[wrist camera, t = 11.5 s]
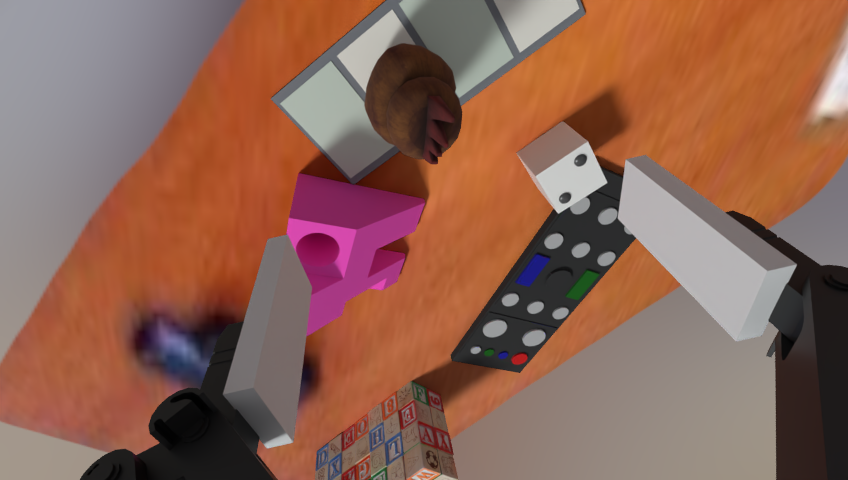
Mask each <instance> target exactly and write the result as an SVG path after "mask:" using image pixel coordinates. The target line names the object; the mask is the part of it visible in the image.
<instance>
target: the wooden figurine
mask: <svg viewBox="0 0 848 480" xmlns="http://www.w3.org/2000/svg"><path fill="white" fill-rule="evenodd" d="M455 91H456V84H455V79H454V75H453V71H452V69H451V68H450V67H449V66H448V64H447V63H446V62H445V61H444V60H443V59H442V58H441V57H440V56H438V55H437V54H435V53H433V52H431V51H430V50H428V49H426V48H424V47H422V46H419V45H412V44H405V43H401V44H398V45H396V46H393V47H390V48H388V49H387V50H386V51H385V52H384V53H383V54H382V55H381V57H380V58H379V59H378V60H377V62H376V64H375V66H374V68H373V70H372V72H371V75H370V78H369V81H368V84H367V87H366V95H365V104H364V106H365V110H366V113H367V115H368V118H369V120H370V122H371V125H372V127H373V129H374V130H375V131H376V132H377V133H378V134H379V135H380V136H381V137H382V138H383V139H384V140H385V141H386V142H388V143H389V144H392V145H395V146H396V147H397V148H398V149H399V150H400V151H401V152H402V153H403V154H404V155H407V156H409V157H412V158H415V159H425V160H426V161H427V162H429V163H430V164H438V158H437V157H442V153H443V152H445V151H446V150H447V149H449V148H450V147H451V145H452V144H453V143H454V142H455V141H456V139H457V138H458V135H459V132H460V129H461V121H462V109H461V105H460V101H459V98H458V97H457V95H456V94H455Z"/></svg>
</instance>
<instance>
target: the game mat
mask: <svg viewBox="0 0 848 480" xmlns="http://www.w3.org/2000/svg"><path fill="white" fill-rule="evenodd" d="M584 15H585V11H584V9H583V6H582V3H581V1H580V0H386V1H385V2H383V3H382V4H381V5H380V6H379V7H378V8H376V9H375V10H374V11H373V12H372V13H371V14H369V15H368V16H367V17H366V18H365V19H363V20H362V21H361V22H360V23H359V24H358V25H356V26H355V27H354V28H353V29H352V30H351V31H349V32H348V33H347V34H346V35H345V36H344V37H342V38H341V39H340V40H339V41H338V42H336V43H335V44H334V45H333V46H332V47H331V48H329V49H328V50H327V51H326V52H325V53H324V54H322V55H321V56H320V57H319V58H318V59H316V60H315V61H314V62H313V63H312V64H311V65H309V66H308V67H307V68H306V69H305V70H304V71H302V72H301V73H300V74H299V75H298V76H297V77H295V78H294V79H293V80H292V81H291V82H289V83H288V84H287V85H286V86H285V87H284V88H282V89H281V90H280V91H279V92H278V93H277V94H275V95H274V96H273V97H272V98H271V100H272V101H273V102H274V103H275V104H276V105H277V106H278V107H279V108H280V109H281V110H282V111H283V112H284V113H285V114H286V115H287V116H288V117H289V118H290V120H291V121H292V122H293V123H294V124H295V125H296V126H297V127H298V128H299V129H300V130H301V131H302V132H303V133H304V134H305V135H306V136H307V137H308V138H309V139H310V140H311V141H312V143H313V144H314V145H315V146H316V147H317V148H318V149H319V150H320V151H321V152H322V153H323V154H324V155H325V156H326V157H327V158H328V159H329V160H330V161H331V162H332V163H333V164H334V166H335V167H336V168H337V169H338V170H339V171H340V172H341V173H342V174H343V175H344V176H345V177H346V178H347V179H348V180H349V181H350V182H351V183H352V184H353V185H354V184H356V183H357V182H358V181H360V180H361V179H362V178H364V177H365V176H366V175H368V174H369V173H371V172H372V171H373V170H375V169H376V168H377V167H379V166H380V165H381V164H383V163H384V162H385V161H387V160H388V159H390V158H391V157H392V156H394V155H395V154H396V153H398V152H399V151H400V150H399V149H398V148H397V147H396V146H395V145H392V144H389V143H388V142H386V141H385V140H384V139H383V138H382V137H381V136H380V135H379V134H378V133H377V132H376V131H375V130H374V129H373V127H372V125H371V122H370V120H369V118H368V115H367V113H366V110H365V106H364V104H365V95H366V87H367V84H368V81H369V78H370V75H371V72H372V70H373V68H374V66H375V64H376V62H377V60H378V59H379V58H380V57H381V55H382V54H383V53H384V52H385V51H386V50H387V49H388V48H390V47H393V46H396V45H398V44H401V43H405V44H412V45H419V46H422V47H424V48H426V49H428V50H430V51H431V52H433V53H435V54H437V55H438V56H440V57H441V58H442V59H443V60H444V61H445V62H446V63H447V64H448V66H449V67H450V68H451V69H452V71H453V75H454V79H455V84H456V91H455V94H456V95H457V97H458V98H459V101H460V105H461V106H462V105H463V104H464V103H466V102H467V101H468V100H470V99H471V98H472V97H474V96H475V95H476V94H478V93H479V92H481V91H482V90H483V89H485V88H486V87H487V86H489V85H490V84H491V83H493V82H494V81H496V80H497V79H498V78H500V77H501V76H502V75H504V74H505V73H506V72H508V71H509V70H510V69H512V68H513V67H515V66H516V65H517V64H519V63H520V62H521V61H523V60H524V59H525V58H527V57H528V56H529V55H531V54H532V53H534V52H535V51H536V50H538V49H539V48H540V47H542V46H543V45H544V44H546V43H547V42H549V41H550V40H551V39H553V38H554V37H555V36H557V35H558V34H559V33H561V32H562V31H563V30H565V29H566V28H568V27H569V26H570V25H572V24H573V23H574V22H576V21H577V20H578V19H580V18H581V17H582V16H584Z"/></svg>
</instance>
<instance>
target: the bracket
mask: <svg viewBox="0 0 848 480" xmlns="http://www.w3.org/2000/svg"><path fill="white" fill-rule="evenodd" d="M424 204H425V201H424V199H422V198H417V197H412V196H407V195H403V194H398V193H393V192H388V191H383V190H378V189H374V188H369V187H364V186H359V185H353V184H349V183H345V182H340V181H335V180H330V179H325V178H320V177H315V176H311V175H306V174H301V173H299V174H298V178H297V183H296V188H295V193H294V197H293V202H292V207H291V211H290V216H289V222H288V228H287V234H286V235H288V236H289V238H290V240H291V243H292V245H293V247H294V249H295V251H296V253H297V256H298V258H299V260H300V262H301V264H302V266H303V268H304V271H305V273H306V275H307V277H308V279H309V281H310V284H311V286H312V292H311V300H310V308H309V317H308V325H307V333H306V336H308V335H310V334H311V333H313V332H315V331H316V330H318V329H320V328H321V327H323V326H324V325H326V324H328V323H329V322H331V321H333V320H334V319H336V318H338V317H339V316H341V315H342V312H343V309H344V305H345V302H346V301H348V300H350V299H351V298H353V297H355V296H356V295H358V294H360V293H362V292H363V291H365V290H367V289H369V288H370V289H378V290H384V289H385V288H387V287H389V286H390V285H392V284H394V283H395V282H397V279H398V277H399V274H400V271H401V268H402V266H403V263H404V260H405V253H400V252H394V251H387V250H381V249H379V248H381V247H383V246H385V245H387V244H389V243H391V242H393V241H395V240H398V239H400V238H402V237H404V236H406V235H408V234H410V233H412V232H414V231H415V229H416V227H417V224H418V221H419V218H420V215H421V213H422V210H423V207H424Z"/></svg>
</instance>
